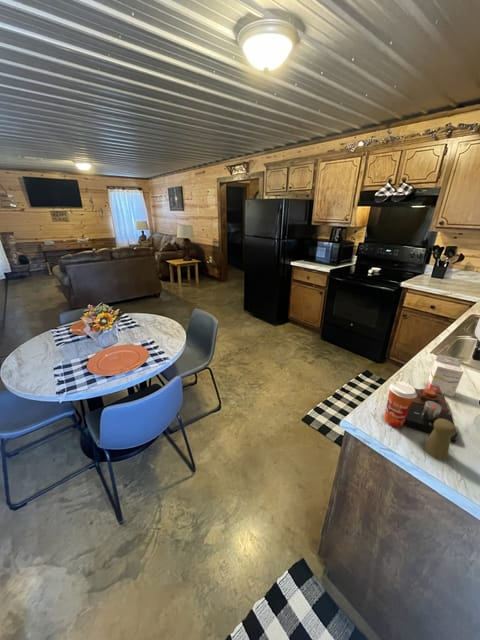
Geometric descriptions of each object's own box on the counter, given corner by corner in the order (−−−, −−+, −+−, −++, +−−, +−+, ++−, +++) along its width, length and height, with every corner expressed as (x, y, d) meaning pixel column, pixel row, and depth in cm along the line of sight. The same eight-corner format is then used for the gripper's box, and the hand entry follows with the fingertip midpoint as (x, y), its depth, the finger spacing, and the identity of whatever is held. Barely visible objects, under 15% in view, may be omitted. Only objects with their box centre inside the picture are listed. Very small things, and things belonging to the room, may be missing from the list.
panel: (448, 421, 91) (451, 414, 89) (454, 442, 82) (458, 434, 81) (402, 408, 97) (404, 401, 95) (403, 426, 88) (406, 418, 87)
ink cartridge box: (428, 391, 107) (439, 359, 101) (426, 384, 111) (436, 353, 105) (454, 397, 103) (466, 364, 98) (450, 390, 108) (462, 358, 102)
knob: (420, 410, 91) (424, 398, 89) (435, 415, 89) (440, 402, 87) (422, 419, 87) (426, 406, 85) (438, 423, 86) (443, 410, 84)
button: (433, 394, 99) (434, 390, 98) (434, 399, 96) (436, 395, 96) (422, 391, 101) (423, 387, 100) (423, 396, 98) (424, 392, 97)
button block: (442, 400, 101) (445, 391, 100) (447, 416, 93) (450, 407, 92) (406, 390, 106) (409, 382, 105) (408, 405, 98) (411, 396, 97)
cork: (423, 453, 78) (434, 424, 74) (423, 439, 83) (433, 412, 79) (448, 463, 75) (460, 434, 71) (446, 448, 80) (458, 420, 76)
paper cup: (377, 419, 91) (386, 386, 86) (386, 410, 96) (395, 377, 90) (401, 433, 85) (412, 398, 80) (410, 422, 90) (421, 388, 85)
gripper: (523, 318, 74) (500, 373, 81) (504, 303, 86) (485, 352, 93) (489, 313, 77) (469, 367, 84) (475, 300, 89) (459, 348, 96)
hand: (478, 359), depth 88 cm, fingers closed
